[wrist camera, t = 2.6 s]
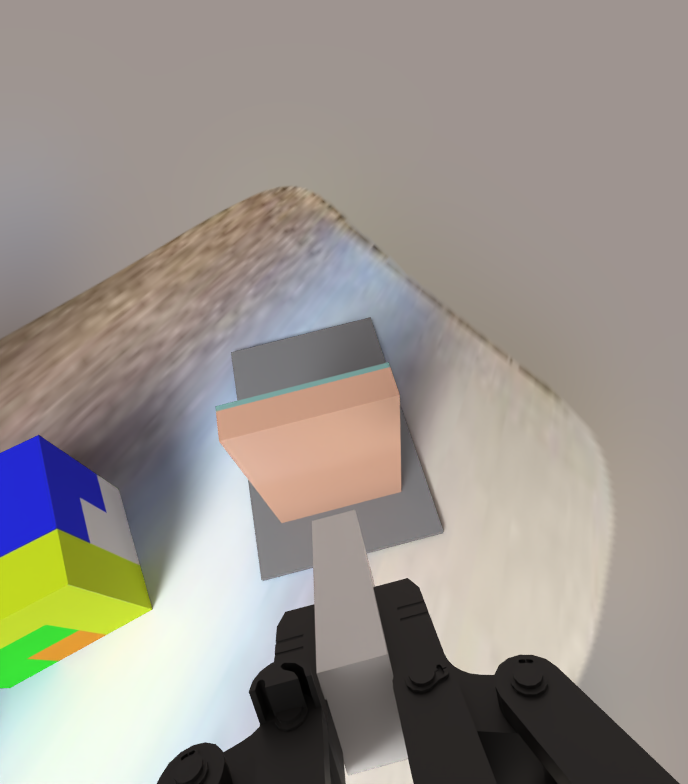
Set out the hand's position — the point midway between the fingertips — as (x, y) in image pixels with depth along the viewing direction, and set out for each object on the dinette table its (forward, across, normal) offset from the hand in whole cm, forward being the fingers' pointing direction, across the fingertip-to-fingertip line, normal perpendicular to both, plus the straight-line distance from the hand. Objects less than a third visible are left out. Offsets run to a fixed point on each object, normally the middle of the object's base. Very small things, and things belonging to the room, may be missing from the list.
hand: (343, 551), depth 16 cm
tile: (+19, 0, -6) cm, 20 cm away
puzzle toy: (+19, -21, -8) cm, 29 cm away
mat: (+23, 0, -3) cm, 23 cm away
